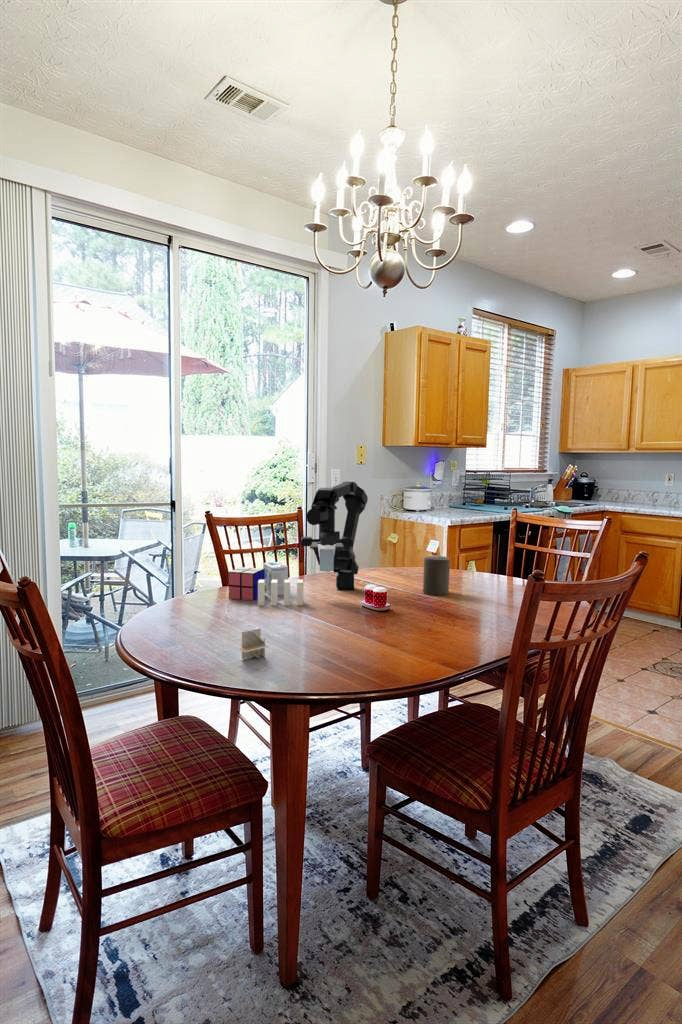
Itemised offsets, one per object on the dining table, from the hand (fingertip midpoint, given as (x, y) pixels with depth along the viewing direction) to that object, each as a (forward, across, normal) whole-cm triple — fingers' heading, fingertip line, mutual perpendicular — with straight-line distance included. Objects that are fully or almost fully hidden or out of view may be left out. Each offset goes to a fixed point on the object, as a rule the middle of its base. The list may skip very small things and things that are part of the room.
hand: (326, 565), depth 213 cm
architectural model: (+12, -21, -65) cm, 69 cm away
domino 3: (+12, -14, -9) cm, 20 cm away
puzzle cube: (+12, -29, +1) cm, 31 cm away
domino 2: (+12, -18, -9) cm, 24 cm away
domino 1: (+12, -23, -9) cm, 27 cm away
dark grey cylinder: (+12, +42, +6) cm, 44 cm away
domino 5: (+2, 0, 0) cm, 2 cm away
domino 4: (+12, -10, -9) cm, 18 cm away
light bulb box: (+12, -19, +8) cm, 24 cm away
